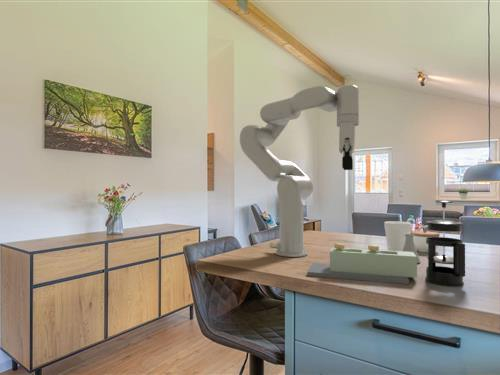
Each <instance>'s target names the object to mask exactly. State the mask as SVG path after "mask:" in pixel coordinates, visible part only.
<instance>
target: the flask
mask: <svg viewBox="0 0 500 375" xmlns="http://www.w3.org/2000/svg"><path fill="white" fill-rule="evenodd" d="M413 236H414V234H411V233H409V234H405V237H406V239H405V245H404V248H403V251H405V252H414V254H415V255H416V256H417V264H420V263H421V259H420V256H419V253H418V251H417V249H416V248H415V245H414V240H413Z"/></svg>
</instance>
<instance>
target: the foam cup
mask: <svg viewBox="0 0 500 375" xmlns="http://www.w3.org/2000/svg"><path fill="white" fill-rule="evenodd" d="M411 224H412V223H411V222H409V221H398V220H397V221H396V220H394V221H393V220H391V221H384V223H383V225H384V226H383V228H384V232H385V238H386V245H387V251H403V248H404V245H405V239H406V237H405V234H411V228H412V226H411Z"/></svg>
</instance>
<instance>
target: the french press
mask: <svg viewBox="0 0 500 375" xmlns="http://www.w3.org/2000/svg"><path fill="white" fill-rule="evenodd" d="M435 203H441V207H442V208H443V209H442V210H443V212H442V219H435V220H426V221H425V222H426V224H427V229H428V231H429V230H430V231H433V232H442V236H439V237H428V238H426V243H427V244H428V252H427V254H428V255H427V260H428V261H427V262H428V265H427V267H426V268H425V271H426V272H425V273H426V274H425V281H426V282H429V283H430V284H433V285H437V286H443V287H462V286H464V284H465V282H464V280H463V279H464V277H466V244H465V243H463V242H464V241H463V240H462V239H459V238H455V237H446V234H445V232H448V233H450V232H453V233H455V232H461V231H462V227H461V226H462V225H463V222H460V221H454V220H447V219H446V216H445V215H446V214H445V213H446V212H445V211H446V210H445V208H447V203H448V204H449V203H453V201H452V200H436V201H435ZM436 246H438V247H442V252H443V253H442V255H436V253H437V252H436V249H437V248H436ZM446 247H448V248H452V250H453V251H452V254H453V255H452V256H453V257H451V256H446V252H445V251H446ZM436 264H441V266H439V265H438V266H437V265H436ZM442 265H452V267H450V266H442Z"/></svg>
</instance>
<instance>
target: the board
mask: <svg viewBox="0 0 500 375" xmlns="http://www.w3.org/2000/svg"><path fill="white" fill-rule="evenodd" d="M334 248H336V249H337V251H342V249H344V248H345V243H334ZM367 249H368V250H371V252H372V253H376V251H378V250H380V246H379V245H376V244H368V246H367ZM307 277H318V278H329V279H330V278H331V279H343V280H353V281H354V280H356V281H363V282H364V281H367V282H378V283H387V284H388V283H391V284H401V283H402V284H403V285H410V279H409V277H401V276H388V275H375V274H362V273H349V272H336V271H330V263H323V262H313V263H312V264H311V265H310V267H309V269H308V270H307ZM402 284H401V285H402Z"/></svg>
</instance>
